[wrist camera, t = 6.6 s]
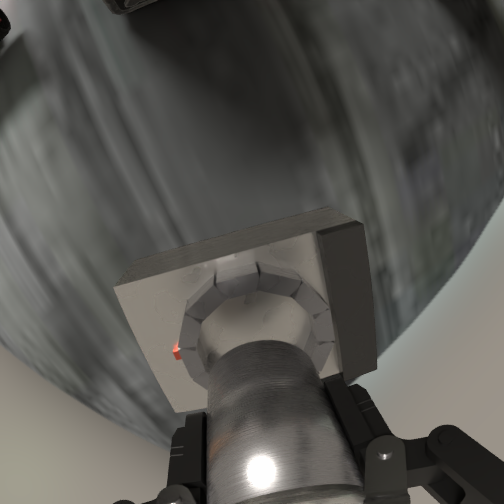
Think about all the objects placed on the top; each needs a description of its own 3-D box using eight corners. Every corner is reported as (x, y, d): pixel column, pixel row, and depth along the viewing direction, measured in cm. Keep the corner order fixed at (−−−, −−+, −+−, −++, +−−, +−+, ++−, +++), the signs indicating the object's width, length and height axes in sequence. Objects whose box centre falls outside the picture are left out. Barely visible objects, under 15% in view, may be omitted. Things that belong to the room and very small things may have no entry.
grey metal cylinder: (307, 325, 13) (386, 484, 5) (322, 404, 14) (375, 537, 7) (192, 355, 13) (178, 529, 5) (226, 429, 14) (237, 568, 6)
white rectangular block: (327, 206, 21) (367, 226, 15) (347, 326, 24) (380, 373, 18) (134, 260, 21) (104, 298, 15) (182, 371, 24) (173, 427, 18)
